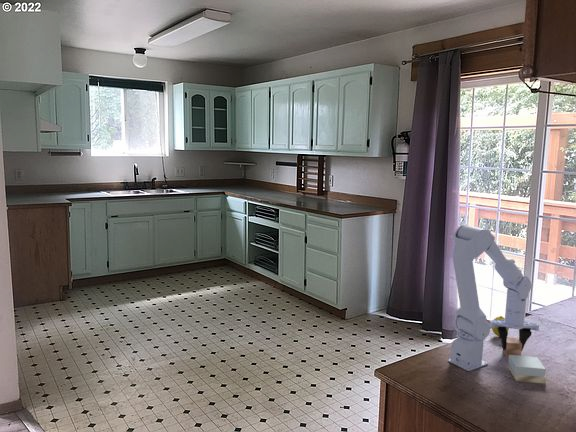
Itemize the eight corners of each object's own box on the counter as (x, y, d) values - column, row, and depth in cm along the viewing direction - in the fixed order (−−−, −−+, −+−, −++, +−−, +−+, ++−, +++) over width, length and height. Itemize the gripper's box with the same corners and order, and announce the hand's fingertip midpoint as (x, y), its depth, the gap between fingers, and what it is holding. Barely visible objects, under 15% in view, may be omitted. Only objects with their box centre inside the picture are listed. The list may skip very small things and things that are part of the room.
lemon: (510, 340, 165) (512, 319, 164) (494, 340, 166) (496, 318, 164) (503, 334, 171) (505, 313, 170) (488, 334, 171) (490, 313, 170)
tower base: (515, 382, 137) (516, 374, 137) (508, 369, 145) (508, 362, 145) (545, 385, 136) (546, 377, 136) (536, 372, 144) (536, 364, 143)
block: (506, 357, 153) (507, 342, 152) (502, 351, 157) (503, 337, 156) (520, 358, 152) (522, 343, 151) (516, 352, 156) (517, 338, 155)
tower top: (515, 374, 137) (515, 366, 137) (508, 362, 145) (508, 354, 144) (544, 377, 135) (545, 369, 135) (536, 364, 143) (536, 357, 143)
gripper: (494, 312, 149) (491, 352, 151) (543, 315, 147) (539, 356, 149) (489, 305, 156) (486, 343, 158) (536, 308, 154) (532, 347, 156)
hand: (511, 349), depth 154 cm, fingers closed on block, 4 cm apart
